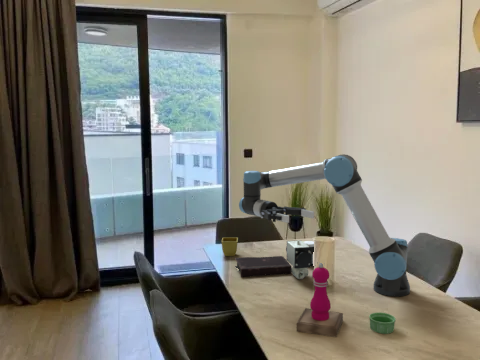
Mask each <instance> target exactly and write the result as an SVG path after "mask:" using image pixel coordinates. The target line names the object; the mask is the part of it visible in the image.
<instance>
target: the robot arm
mask: <svg viewBox="0 0 480 360" xmlns="http://www.w3.org/2000/svg"><path fill="white" fill-rule="evenodd" d="M242 180H243V197H242V198H241V199H240V200H239V203H238V208H239V210H240V211H241V212H242V213H244V214H246V215H250V216H255V217H259V218H260V219H266V220H267V221H272V223H276V221H278V222H282V223H286V224H289V223H290V216H301V217H304V218H309V219H315V211H314V210H307V208H305V207H303V206H302V207H293V206H292V207H291V206H279V205H277V202H274V201H270V200H266V199H261V195H262V194H261V192H262V191H261V190H263V189H269V188H275V187H280V186H281V187H282V186H288V185H293V184H300V183H306V182H307V183H308V182H315V181H321V180H326V181H327V182H328V183H329V184H330V185H331V186H332V188H333V190H334V191H335V193H336V194H338V195H341V196H342V198H343V200H344V201H345V204H346V206H347V207H348V210H349V211H350V213H351V214H352V217H353V218H354V221H355V222H356V223H357V225H358V228H359V229H360V231H361V234H363V236H364V239H365V240H366V242H367V244H368V246H369V249H368V253H369V256H370V257H371V259H372V261H373V263H374V270H375V272H376V273H377V274H376V275H375V279H374V282H373V288H372V289H373V290H374V291H375V292H376V293H378V294H380V295H383V296H389V297H403V296H408V295H410V293H411V286H410V283H409V280H408V275H407V265H408V263H407V261H408V247H409V246H408V241H407V240H406V239H403V238H399V237H397V238H396V237H390V236H389V234H388V232H387V231H386V229H385V227H384V225H383V223H382V221H381V219H380V218H379V215H378V214H377V212H376V210H375V209H374V207H373V205H372V203H371V201H370V200H369V198H368V196H367V193H365V190H364V189H363V187H362V181H363V179H362V178H361V175H360V173H359V171H358V164H357V162H356V160H355V159H354V158H353V157H352V156H350V155H348V154H343V153H342V154H339V155H336V156H333V157H331V158H325V159H324V160H323V161H321V162H316V163H315V162H314V163H310V164H309V163H308V164H304V165H297V166H291V167H287V168H281V169H280V168H279V169H274V170H269V171H261V172H260V171H259V170H246V171H244V172H243V178H242Z"/></svg>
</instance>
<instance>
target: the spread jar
mask: <svg viewBox="0 0 480 360" xmlns="http://www.w3.org/2000/svg"><path fill="white" fill-rule="evenodd" d="M303 242H304V243H307V244H309V247H310V253H312V264H310V268H311V267H314V266H313V252H314V242H315V241H312V240H305V241H303Z"/></svg>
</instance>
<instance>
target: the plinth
mask: <svg viewBox="0 0 480 360" xmlns="http://www.w3.org/2000/svg"><path fill="white" fill-rule="evenodd" d="M312 311H313V310H312V309H311V308H309V307H308V308H307V307H305V309H304V310H303V311H302V313H301V315H300V317H299V318H298V320H297V321H296V332H301V333H308V334H314V335H319V336H320V335H321V336H327V337H333V338H337V337H338V334H339V332H340V329H341V327H342V324H343V321H344V313H343V312H338V311H337V312H336V311H330V310H329V311H328V312H329V319H328V320H324V321H318V320H315V319H313V318H312Z"/></svg>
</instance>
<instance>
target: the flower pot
mask: <svg viewBox="0 0 480 360" xmlns="http://www.w3.org/2000/svg"><path fill="white" fill-rule="evenodd" d="M238 240H239V237H222V239H221V248H222V253H223V256H225V257H235V256H236V254H237V251H238V250H237V249H238V242H239V241H238Z"/></svg>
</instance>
